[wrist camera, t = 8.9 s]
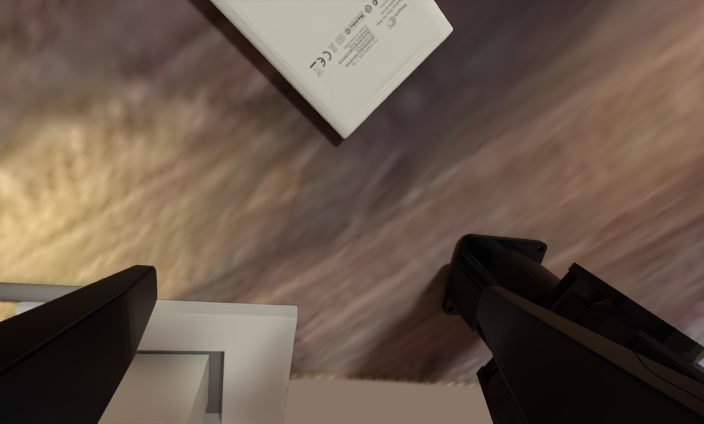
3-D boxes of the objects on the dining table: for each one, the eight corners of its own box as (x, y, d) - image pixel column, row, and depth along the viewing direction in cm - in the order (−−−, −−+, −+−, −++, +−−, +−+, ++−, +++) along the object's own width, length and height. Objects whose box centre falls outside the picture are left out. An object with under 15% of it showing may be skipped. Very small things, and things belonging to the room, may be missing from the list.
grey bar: (154, 281, 21) (147, 290, 20) (155, 305, 22) (149, 314, 21) (-15, 272, 19) (-31, 282, 18) (-8, 298, 20) (-23, 309, 19)
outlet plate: (297, 305, 23) (297, 317, 22) (280, 435, 28) (279, 450, 27) (30, 294, 20) (14, 306, 19) (58, 443, 24) (47, 460, 23)
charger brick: (209, 354, 23) (181, 439, 18) (207, 402, 25) (182, 494, 19) (136, 353, 22) (84, 443, 17) (140, 403, 24) (93, 500, 18)
